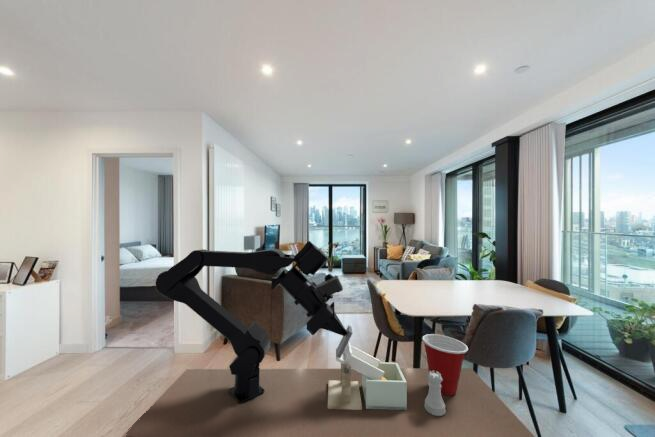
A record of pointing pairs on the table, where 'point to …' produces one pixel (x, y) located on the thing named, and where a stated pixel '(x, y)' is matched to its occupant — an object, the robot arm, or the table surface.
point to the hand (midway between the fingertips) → (345, 334)
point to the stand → (344, 392)
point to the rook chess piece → (435, 395)
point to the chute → (357, 358)
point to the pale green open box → (386, 389)
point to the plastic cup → (445, 359)
